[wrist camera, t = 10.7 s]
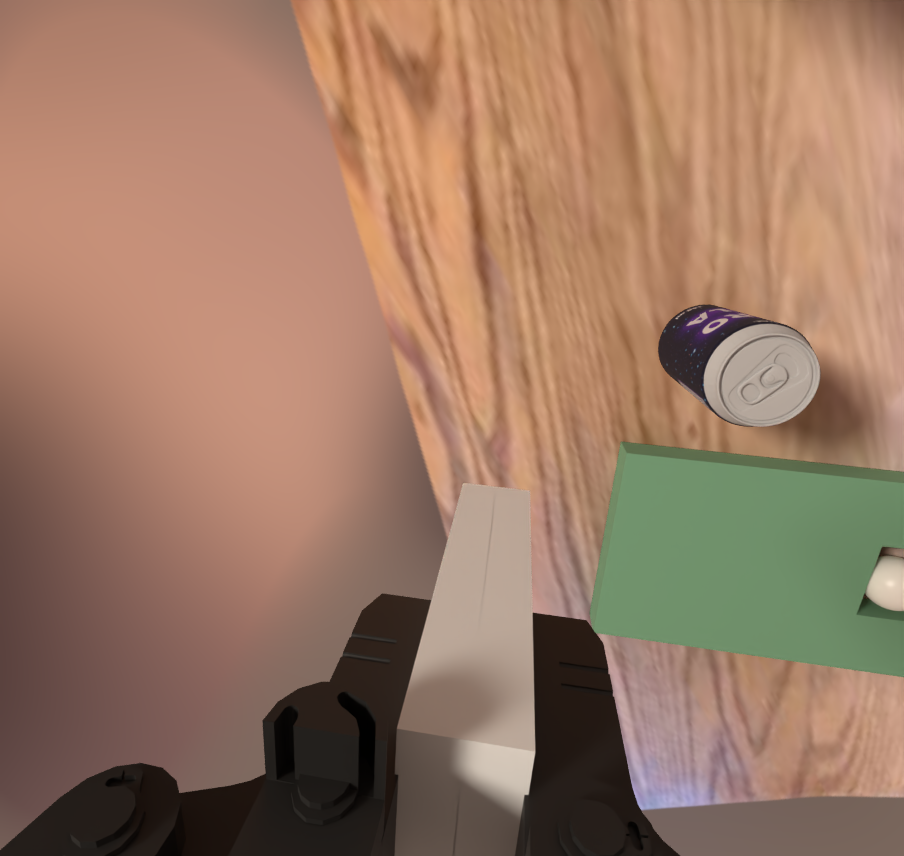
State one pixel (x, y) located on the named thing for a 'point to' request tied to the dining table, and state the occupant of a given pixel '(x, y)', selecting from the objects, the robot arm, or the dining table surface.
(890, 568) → the ball
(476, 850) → the robot arm
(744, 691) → the dining table surface
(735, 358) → the beverage can
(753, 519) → the putting mat
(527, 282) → the dining table surface
